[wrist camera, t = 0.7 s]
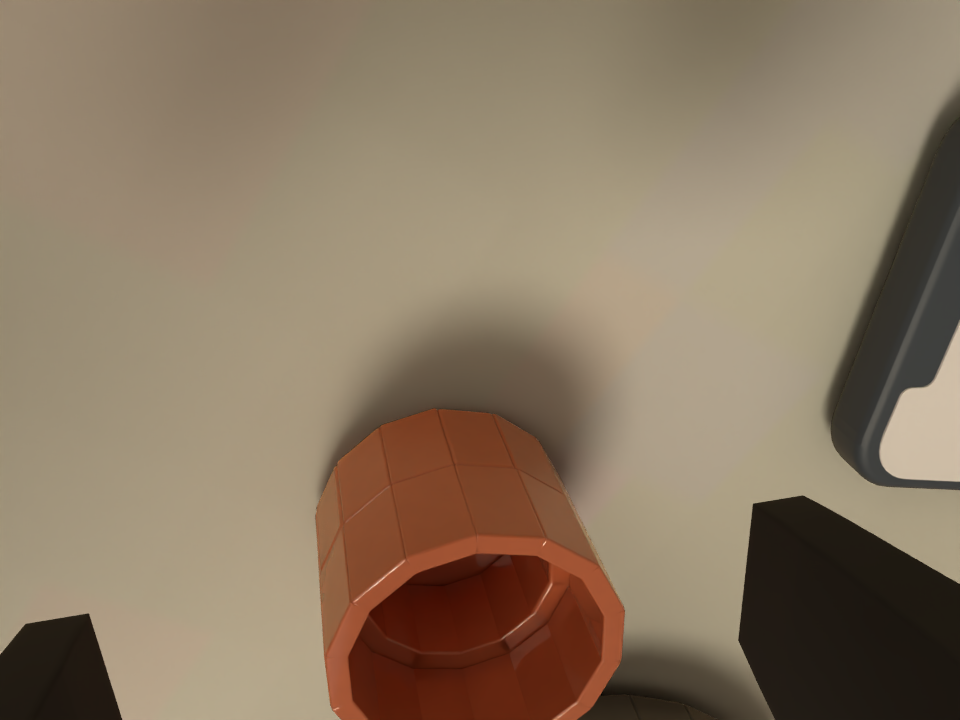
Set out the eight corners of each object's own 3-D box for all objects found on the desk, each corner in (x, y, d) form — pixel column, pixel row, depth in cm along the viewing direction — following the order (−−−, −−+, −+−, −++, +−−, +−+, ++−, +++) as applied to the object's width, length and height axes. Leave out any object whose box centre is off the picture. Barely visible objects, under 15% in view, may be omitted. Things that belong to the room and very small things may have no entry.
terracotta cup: (462, 628, 22) (507, 800, 18) (265, 539, 20) (263, 711, 16) (601, 466, 21) (684, 610, 17) (407, 352, 18) (446, 484, 14)
